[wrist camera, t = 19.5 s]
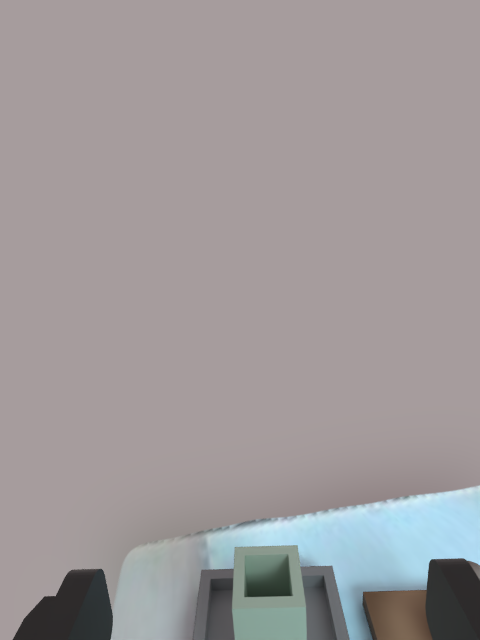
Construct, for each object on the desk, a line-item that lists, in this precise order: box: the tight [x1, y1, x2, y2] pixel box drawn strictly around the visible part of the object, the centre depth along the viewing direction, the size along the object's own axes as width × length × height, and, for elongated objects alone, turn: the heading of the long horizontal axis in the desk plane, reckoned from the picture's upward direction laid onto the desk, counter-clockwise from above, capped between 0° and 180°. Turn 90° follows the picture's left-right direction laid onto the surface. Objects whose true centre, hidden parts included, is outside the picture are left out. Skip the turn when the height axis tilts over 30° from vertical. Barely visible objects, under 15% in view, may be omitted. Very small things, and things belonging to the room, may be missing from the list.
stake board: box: [363, 561, 480, 640], centre depth 30 cm, size 12×12×10 cm
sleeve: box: [232, 545, 307, 640], centre depth 30 cm, size 5×5×10 cm
